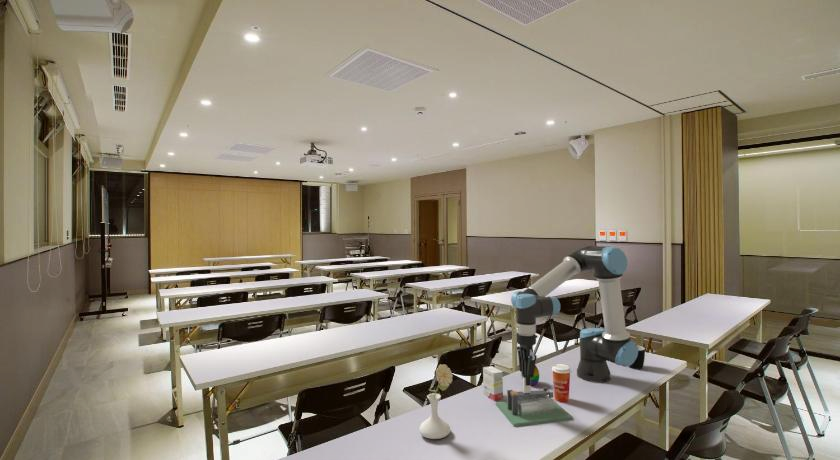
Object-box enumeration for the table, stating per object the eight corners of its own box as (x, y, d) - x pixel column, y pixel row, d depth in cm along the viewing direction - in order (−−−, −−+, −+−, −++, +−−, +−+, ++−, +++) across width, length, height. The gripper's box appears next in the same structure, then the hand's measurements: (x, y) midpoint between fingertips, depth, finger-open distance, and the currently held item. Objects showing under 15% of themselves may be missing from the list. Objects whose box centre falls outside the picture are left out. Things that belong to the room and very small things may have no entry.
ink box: (503, 399, 171) (503, 371, 170) (494, 401, 169) (493, 373, 168) (492, 391, 178) (491, 365, 178) (483, 393, 176) (482, 367, 176)
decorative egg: (539, 387, 181) (538, 365, 181) (520, 385, 184) (520, 364, 184) (539, 380, 189) (539, 359, 189) (522, 378, 192) (521, 358, 191)
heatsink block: (544, 401, 165) (543, 384, 165) (556, 412, 155) (556, 395, 155) (510, 405, 162) (510, 388, 162) (521, 417, 152) (521, 399, 152)
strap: (547, 392, 162) (547, 388, 162) (551, 395, 158) (551, 392, 158) (509, 394, 158) (509, 391, 158) (512, 398, 155) (512, 394, 155)
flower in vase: (427, 445, 136) (425, 373, 136) (414, 430, 147) (412, 363, 146) (460, 436, 142) (458, 367, 141) (445, 422, 152) (444, 357, 152)
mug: (648, 367, 202) (648, 347, 202) (639, 371, 197) (639, 351, 197) (625, 361, 212) (625, 342, 212) (616, 364, 207) (615, 345, 207)
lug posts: (512, 410, 160) (511, 389, 160) (517, 416, 155) (517, 395, 155) (507, 411, 160) (507, 390, 159) (512, 417, 154) (512, 395, 154)
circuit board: (548, 398, 170) (548, 396, 170) (572, 419, 152) (572, 416, 152) (495, 404, 165) (495, 402, 165) (513, 426, 148) (513, 423, 148)
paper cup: (549, 399, 169) (548, 367, 168) (556, 393, 174) (556, 362, 174) (567, 405, 163) (566, 371, 163) (574, 399, 169) (574, 366, 169)
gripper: (510, 329, 163) (511, 386, 164) (524, 338, 151) (525, 400, 151) (527, 328, 165) (528, 384, 165) (542, 337, 152) (543, 398, 152)
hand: (526, 392), depth 158 cm, fingers closed
